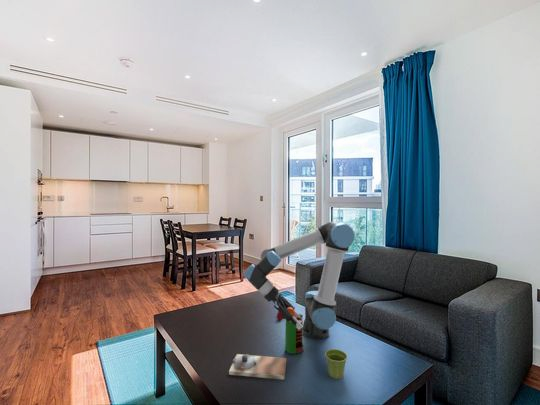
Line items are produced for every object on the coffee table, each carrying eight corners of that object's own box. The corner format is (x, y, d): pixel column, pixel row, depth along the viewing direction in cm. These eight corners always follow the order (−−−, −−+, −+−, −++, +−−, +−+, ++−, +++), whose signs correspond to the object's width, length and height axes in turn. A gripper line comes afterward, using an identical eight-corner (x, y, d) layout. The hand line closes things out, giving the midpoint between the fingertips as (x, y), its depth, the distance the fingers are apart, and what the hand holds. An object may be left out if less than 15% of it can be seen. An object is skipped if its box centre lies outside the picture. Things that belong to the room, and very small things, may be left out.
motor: (302, 354, 133) (302, 313, 133) (283, 352, 134) (283, 311, 134) (303, 344, 143) (303, 305, 143) (286, 342, 144) (286, 304, 144)
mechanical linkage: (283, 310, 188) (283, 303, 188) (292, 312, 185) (293, 304, 185) (273, 319, 173) (273, 312, 173) (284, 322, 170) (284, 314, 170)
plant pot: (331, 365, 127) (331, 346, 126) (350, 373, 121) (350, 353, 120) (321, 375, 119) (321, 355, 119) (341, 384, 113) (341, 364, 113)
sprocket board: (286, 361, 129) (286, 351, 129) (284, 379, 117) (284, 369, 116) (236, 357, 133) (236, 347, 133) (229, 374, 120) (228, 364, 120)
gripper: (266, 289, 150) (296, 320, 148) (260, 303, 130) (294, 339, 128) (276, 279, 149) (306, 311, 147) (271, 292, 129) (306, 329, 127)
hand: (301, 324), depth 138 cm, fingers closed on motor, 7 cm apart
